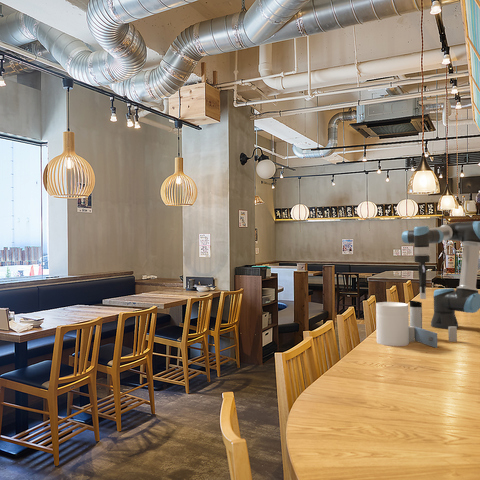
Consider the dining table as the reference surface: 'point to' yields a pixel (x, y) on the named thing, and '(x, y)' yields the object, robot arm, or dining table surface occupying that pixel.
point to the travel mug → (415, 314)
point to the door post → (411, 334)
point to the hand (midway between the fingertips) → (423, 298)
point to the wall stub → (452, 334)
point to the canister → (392, 323)
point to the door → (425, 336)
